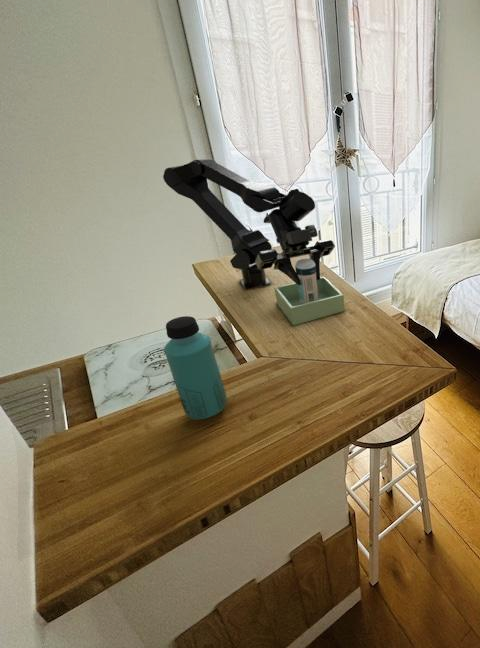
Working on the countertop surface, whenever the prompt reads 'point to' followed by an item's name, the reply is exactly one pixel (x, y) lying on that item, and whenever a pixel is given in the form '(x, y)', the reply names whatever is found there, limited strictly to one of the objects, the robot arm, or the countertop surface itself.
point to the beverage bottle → (194, 369)
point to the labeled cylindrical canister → (307, 281)
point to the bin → (299, 313)
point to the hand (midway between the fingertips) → (309, 282)
